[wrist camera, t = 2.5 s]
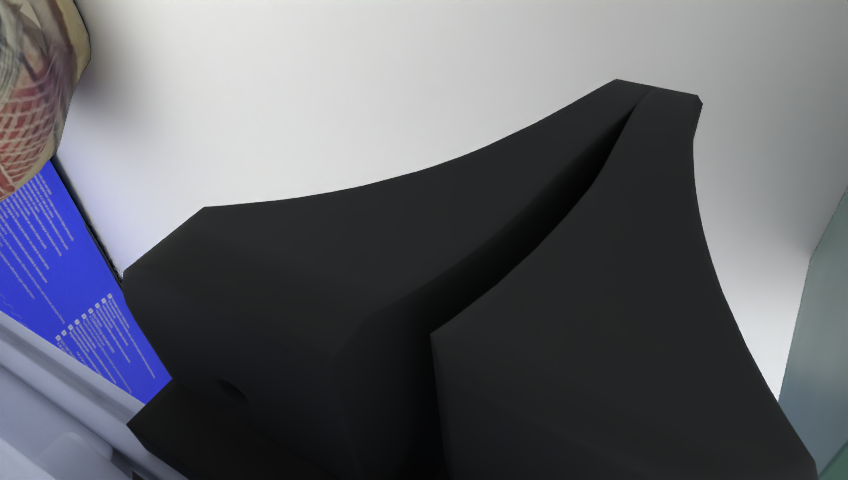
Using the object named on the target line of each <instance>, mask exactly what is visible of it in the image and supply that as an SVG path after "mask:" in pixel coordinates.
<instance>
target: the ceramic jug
mask: <svg viewBox="0 0 848 480" xmlns="http://www.w3.org/2000/svg"><path fill="white" fill-rule="evenodd" d="M90 59H91V49H90V42H89V36H88V33H87V30H86V28H85V25H84V23H83V21H82V19H81V17H80V14H79V12H78V10H77V8H76V6H75V4H74V2H73V0H0V202H1V201H3V200H4V199H6V198H7V197H9V196H11V195H12V194H13V193H14V192H16V191H17V190H18V189H19V188H20V187H22V186H23V185H24V184H26V183H27V182H28V181H29V180H30V179H32V178H33V177H34V176H35V175H36V174H37V173H38V172H39V171H40V170H41V169H42V168H43V166H44V165H45V163H46V162H47V161H48V160H49V159H50V158H51V157H52V156H53V155H54V154H55V153H56V151H57V148H58V146H59V143H60V141H61V137H62V133H63V129H64V125H65V122H66V118H67V114H68V110H69V106H70V102H71V98H72V95H73V93H74V90H75V88H76V86H77V83H78V81H79V78H80V76H81V74H82V71H83V70H84V69H85V68H86V66H87V65H88V63H89V61H90Z"/></svg>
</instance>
